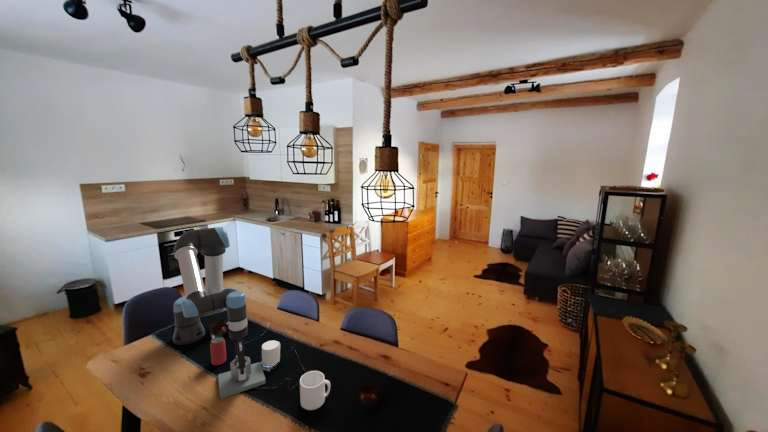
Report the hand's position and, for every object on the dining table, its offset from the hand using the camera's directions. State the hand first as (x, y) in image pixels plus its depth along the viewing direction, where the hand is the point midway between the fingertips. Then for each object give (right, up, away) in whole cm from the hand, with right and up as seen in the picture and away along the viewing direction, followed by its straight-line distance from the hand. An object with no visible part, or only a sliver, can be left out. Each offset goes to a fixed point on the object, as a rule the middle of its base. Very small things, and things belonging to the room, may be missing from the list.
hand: (241, 373), depth 135 cm
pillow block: (0, -4, +1) cm, 4 cm away
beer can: (-17, -1, +13) cm, 22 cm away
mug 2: (+9, -2, +15) cm, 17 cm away
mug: (+36, -7, -10) cm, 38 cm away
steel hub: (0, 0, 0) cm, 0 cm away
